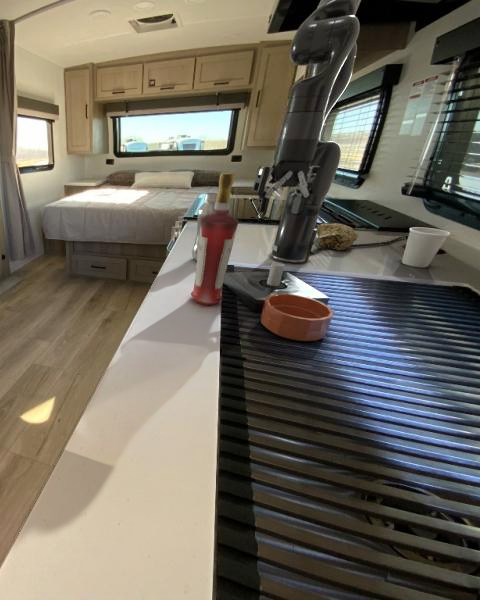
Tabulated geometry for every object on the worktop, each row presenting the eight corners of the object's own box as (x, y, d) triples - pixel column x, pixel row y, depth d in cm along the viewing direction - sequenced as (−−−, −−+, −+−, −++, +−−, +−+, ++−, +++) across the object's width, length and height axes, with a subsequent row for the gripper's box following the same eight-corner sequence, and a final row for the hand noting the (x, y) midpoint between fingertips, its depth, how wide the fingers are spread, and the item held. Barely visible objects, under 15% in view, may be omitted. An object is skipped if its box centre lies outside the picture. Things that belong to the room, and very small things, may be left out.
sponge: (350, 257, 107) (364, 233, 118) (352, 234, 104) (366, 212, 115) (303, 255, 117) (320, 233, 128) (303, 234, 114) (320, 213, 124)
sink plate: (283, 281, 87) (286, 271, 86) (325, 310, 73) (329, 297, 71) (223, 283, 87) (225, 272, 85) (253, 311, 72) (256, 299, 71)
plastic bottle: (215, 264, 99) (227, 195, 90) (191, 263, 101) (201, 195, 92) (211, 257, 105) (223, 192, 96) (189, 256, 106) (198, 191, 97)
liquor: (190, 292, 82) (209, 171, 69) (222, 297, 79) (247, 172, 67) (187, 304, 76) (206, 174, 63) (221, 310, 73) (248, 175, 61)
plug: (274, 291, 82) (282, 260, 78) (286, 299, 77) (295, 267, 74) (254, 291, 82) (261, 260, 78) (265, 300, 77) (273, 268, 74)
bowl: (300, 313, 71) (307, 292, 69) (339, 342, 61) (348, 319, 59) (249, 315, 71) (254, 294, 69) (279, 344, 61) (286, 320, 59)
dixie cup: (441, 269, 93) (459, 235, 89) (407, 268, 95) (423, 233, 90) (420, 260, 101) (436, 227, 96) (389, 258, 102) (402, 226, 98)
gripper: (278, 137, 67) (259, 217, 74) (343, 137, 68) (318, 216, 75) (256, 137, 73) (241, 211, 80) (315, 137, 75) (295, 210, 82)
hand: (278, 213), depth 78 cm, fingers open, 8 cm apart
